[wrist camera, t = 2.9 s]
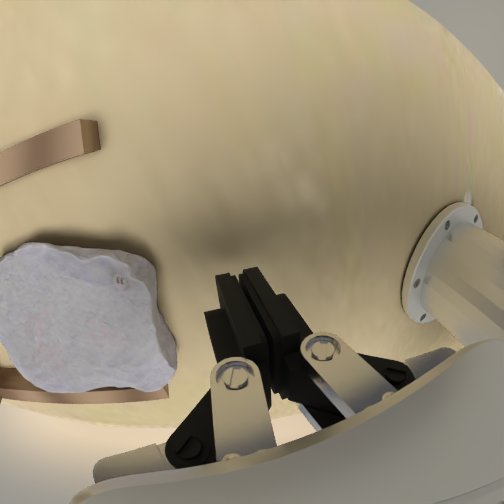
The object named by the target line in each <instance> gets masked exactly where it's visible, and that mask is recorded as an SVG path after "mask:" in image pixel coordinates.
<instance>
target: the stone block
mask: <svg viewBox="0 0 504 504" xmlns="http://www.w3.org/2000/svg"><path fill="white" fill-rule="evenodd" d="M0 342H1V343H2V344H3V345H4V347H5V349H6V351H7V352H8V355H9V358H10V360H11V361H12V363H13V364H14V366H15V367H16V368H17V370H18V371H19V372H20V373H21V375H22V376H23V377H24V378H25V379H26V380H28V381H30V382H31V383H32V384H33V385H34V386H36V387H39V388H41V389H43V390H45V391H48V392H52V393H81V392H86V391H89V390H93V389H96V388H101V387H108V386H115V387H118V388H122V387H132V388H135V389H138V390H141V391H144V392H153V391H158V390H160V389H161V388H162V387H164V386H165V385H166V384H167V383H169V382H170V380H171V379H172V377H173V375H174V373H175V371H176V369H177V353H176V343H175V341H174V338H173V336H172V334H171V333H170V331H169V328H168V326H167V325H166V323H165V321H164V318H163V316H162V314H161V313H160V312H159V311H158V307H157V276H156V270H155V268H154V266H153V265H152V264H151V263H150V262H149V261H148V260H147V259H145V258H143V257H142V256H139V255H135V254H131V253H128V252H124V251H121V250H108V249H99V248H97V249H91V248H81V247H78V246H75V247H74V246H57V245H53V244H50V243H39V242H29V243H23V244H22V245H20V246H19V247H18V248H17V249H16V250H15V251H13V252H11V253H8V254H5V255H4V256H2V257H0Z"/></svg>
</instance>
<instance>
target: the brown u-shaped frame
mask: <svg viewBox="0 0 504 504" xmlns="http://www.w3.org/2000/svg"><path fill="white" fill-rule="evenodd" d="M97 150H101V149H100V141H99V134H98V125H97V121H92V120H82V119H79V120H76V121H73V122H70V123H68V124H65V125H62V126H59V127H57V128H54V129H52V130H49V131H46V132H44V133H42V134H39V135H37V136H35V137H32V138H30V139H28V140H26V141H23V142H21V143H19V144H17V145H15V146H13V147H11V148H9V149H7V150H5V151H3V152H1V153H0V186H1V185H4V184H6V183H8V182H10V181H12V180H15V179H17V178H19V177H22V176H24V175H27V174H29V173H32V172H34V171H37V170H39V169H42V168H45V167H47V166H50V165H53V164H56V163H59V162H61V161H64V160H67V159H71V158H74V157H77V156H80V155H83V154H87V153H90V152H94V151H97ZM2 398H5V399H12V400H21V401H31V402H43V403H63V404H103V403H124V402H137V401H148V400H158V399H166V398H169V392H168V383H167V384H166V385H165V386H164V387H162V388H161V389H160V390H158V391H153V392H144V391H141V390H138V389H135V388H132V387H122V388H118V387H115V386H108V387H101V388H96V389H93V390H89V391H86V392H81V393H52V392H48V391H45V390H43V389H41V388H39V387H36V386H34V385H33V384H32V383H31V382H30V381H28V380H26V379H25V378H24V377H23V376H22V375H21V373H20V372H19V371H18V370H17V368H0V403H1V400H2Z"/></svg>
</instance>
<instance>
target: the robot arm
mask: <svg viewBox="0 0 504 504" xmlns="http://www.w3.org/2000/svg"><path fill="white" fill-rule="evenodd" d="M215 279H216V285H217V291H218V296H219V302H220V309H216V310H211V311H207V312H204V314H205V319H206V323H207V327H208V331H209V335H210V339H211V343H212V347H213V350H214V354H215V357H216V361H217V365H215V366H214V368H213V370H212V371H211V376H210V384H211V388H210V389H209V391H208V392H207V393H206V394H205V396H204V397H203V398H202V399H201V400H200V402H199V403H198V404H197V405H196V407H195V408H194V409H193V410H192V411H191V413H190V414H189V415H188V416H187V417H186V419H185V420H184V421H183V422H182V423H181V424H180V426H179V427H178V428H177V429H176V430H175V432H174V433H173V434H172V435H171V436H170V437H169V439H168V441H167V442H166V443H163V444H160V445H156V444H152V445H148V446H145V447H142V448H139V449H136V450H132V451H129V452H125V453H121V454H118V455H114V456H110V457H106V458H103V459H101V460H99V461H98V462H97V463H96V464H95V466H94V469H93V478H94V481H95V484H94V485H91V486H89V487H87V488H85V489H83V490H82V491H80V492H79V493H77V494H76V495H75V496H74V497H73V498H72V500H71V502H70V504H504V241H503V240H501V239H499V238H498V237H496V236H494V235H492V234H490V233H488V232H487V231H485V230H483V224H482V219H481V216H480V214H479V212H478V211H477V209H476V208H475V207H473V206H471V205H469V204H467V203H463V202H457V203H454V204H452V205H449V206H448V207H446V208H445V209H444V210H443V211H441V212H440V213H439V214H438V215H437V216H436V218H435V219H434V220H433V221H432V222H431V224H430V225H429V226H428V228H427V229H426V230H425V232H424V234H423V235H422V237H421V239H420V241H419V242H418V244H417V246H416V248H415V250H414V253H413V255H412V257H411V260H410V262H409V265H408V268H407V271H406V274H405V278H404V282H403V290H402V305H403V308H404V311H405V313H406V314H407V316H409V317H410V318H411V319H412V320H413V321H414V322H416V323H419V324H420V323H428V322H431V321H433V320H435V319H436V320H437V321H438V322H439V323H440V324H441V325H443V326H444V327H445V328H446V329H447V330H448V331H449V332H450V333H451V334H452V335H453V336H454V337H455V338H457V339H458V340H459V341H460V342H461V343H462V344H463V345H464V346H465V347H464V348H462V349H460V350H459V351H457V352H456V351H455V350H453V349H451V348H446V347H445V348H440V349H437V350H434V351H431V352H428V353H425V354H422V355H419V356H416V357H413V358H410V359H407V360H405V362H404V363H402V362H398V361H394V360H389V359H384V358H379V357H374V356H369V355H364V354H359V353H356V352H355V351H354V350H353V349H352V348H351V347H349V346H348V345H347V344H346V343H345V342H344V341H343V340H342V339H341V338H339V337H338V336H336V335H334V334H331V333H326V332H319V333H313V332H312V331H311V329H310V328H309V327H308V325H307V324H306V322H305V321H304V320H303V318H302V317H301V315H300V314H299V313H298V311H297V310H296V308H295V307H294V306H293V304H292V303H291V301H290V300H289V299H288V297H287V296H286V295H285V294H279V295H276V294H275V293H274V291H273V290H272V288H271V287H270V285H269V284H268V282H267V281H266V279H265V278H264V276H263V275H262V273H261V272H260V270H259V269H258V267H254V268H249V269H244V270H243V274H239V282H238V280H237V278H236V276H235V275H234V276H230V274H229V273H226V274H221V275H216V276H215ZM271 389H272V391H273V393H274V394H276V393H279V394H280V396H281V398H282V400H283V399H286V398H288V400H290V401H293V402H296V404H297V406H298V408H299V409H300V411H301V412H302V413H303V414H304V416H305V417H306V418H307V420H308V421H309V422H310V424H311V425H312V426H313V427H314V429H315V430H316V431H317V432H315V433H313V434H310V435H307V436H305V437H302V438H300V439H297V440H294V441H291V442H288V443H285V444H282V445H280V446H277V444H276V440H275V436H274V432H273V428H272V424H271V419H270V415H269V409H270V407H271Z"/></svg>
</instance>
